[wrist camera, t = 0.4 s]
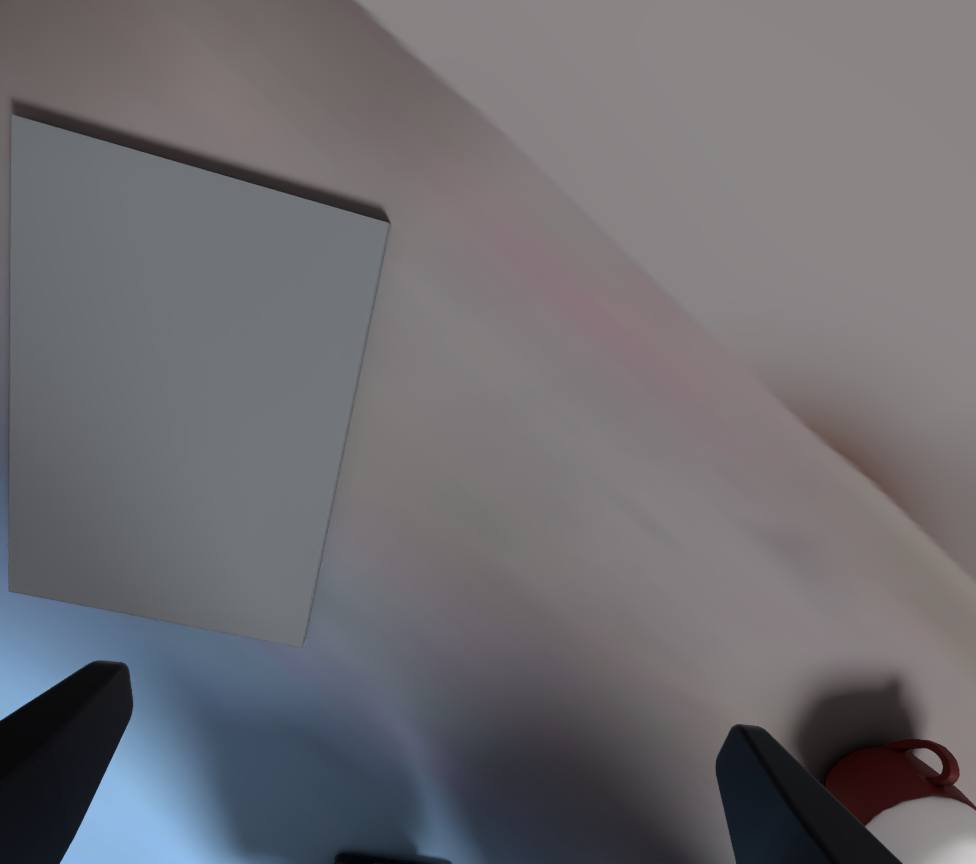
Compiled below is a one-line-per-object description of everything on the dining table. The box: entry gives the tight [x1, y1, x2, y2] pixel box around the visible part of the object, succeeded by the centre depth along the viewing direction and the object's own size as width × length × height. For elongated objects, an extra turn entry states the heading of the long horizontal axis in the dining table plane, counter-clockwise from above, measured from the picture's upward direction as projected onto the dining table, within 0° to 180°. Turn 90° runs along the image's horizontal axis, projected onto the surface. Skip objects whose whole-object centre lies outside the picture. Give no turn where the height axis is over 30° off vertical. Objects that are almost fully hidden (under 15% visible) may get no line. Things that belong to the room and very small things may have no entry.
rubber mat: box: [9, 114, 391, 648], centre depth 21 cm, size 18×12×1 cm, turn 165°
